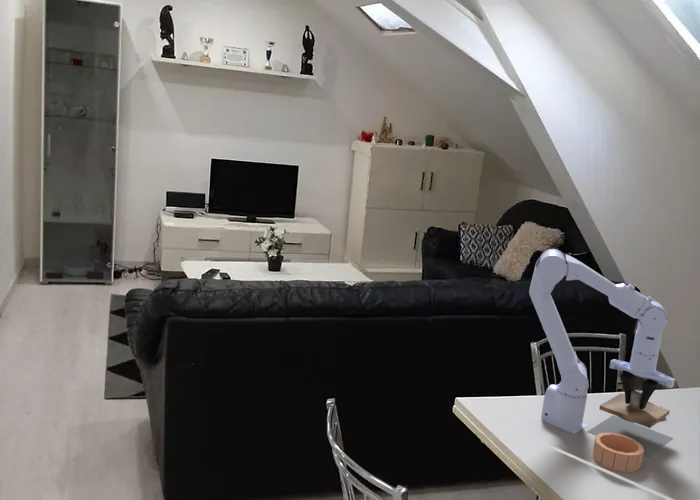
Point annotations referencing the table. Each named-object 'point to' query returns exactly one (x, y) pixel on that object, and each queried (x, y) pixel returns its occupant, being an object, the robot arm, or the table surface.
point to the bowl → (618, 452)
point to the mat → (633, 433)
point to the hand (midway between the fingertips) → (635, 405)
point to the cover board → (633, 414)
